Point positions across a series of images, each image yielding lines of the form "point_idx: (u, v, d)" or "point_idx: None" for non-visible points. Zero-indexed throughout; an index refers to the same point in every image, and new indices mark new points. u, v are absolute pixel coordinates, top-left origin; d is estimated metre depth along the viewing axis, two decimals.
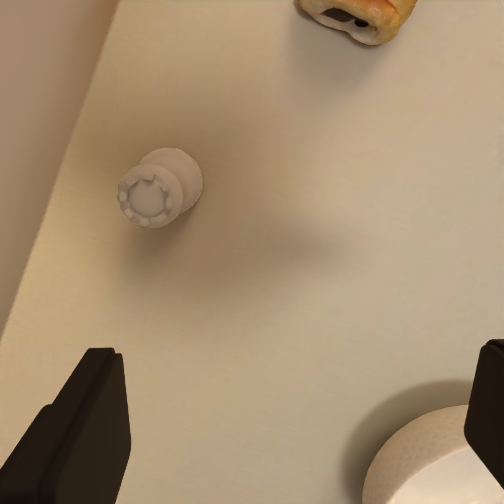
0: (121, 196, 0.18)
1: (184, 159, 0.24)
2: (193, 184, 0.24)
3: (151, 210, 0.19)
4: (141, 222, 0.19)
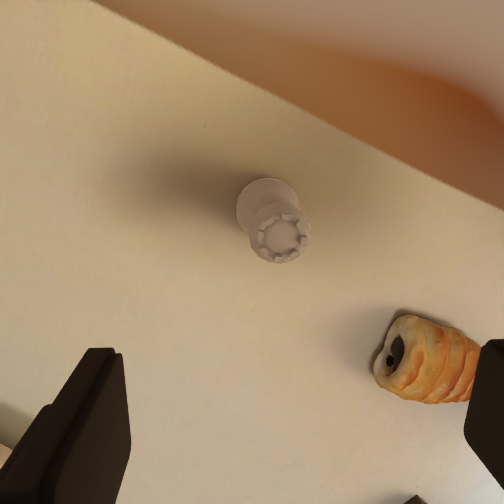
0: (286, 215, 0.19)
1: None
2: None
3: (270, 240, 0.19)
4: (260, 233, 0.19)
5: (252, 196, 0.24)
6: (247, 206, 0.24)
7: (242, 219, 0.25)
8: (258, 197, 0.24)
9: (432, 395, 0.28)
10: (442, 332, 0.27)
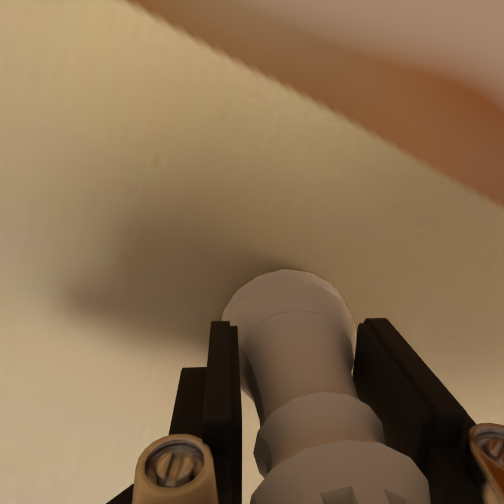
0: None
1: None
2: None
3: None
4: None
5: (256, 323, 0.11)
6: (244, 347, 0.11)
7: None
8: (269, 333, 0.10)
9: None
10: None
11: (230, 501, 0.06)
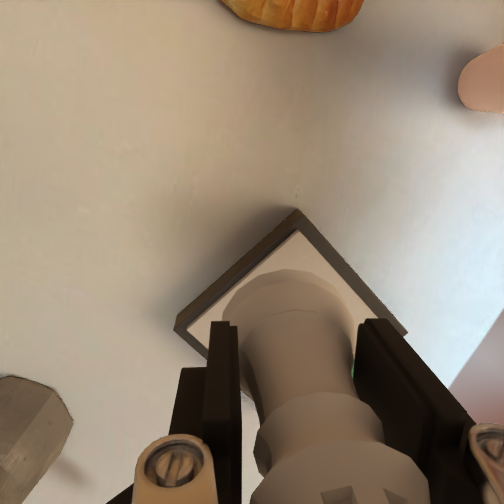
0: None
1: None
2: None
3: None
4: None
5: (255, 323, 0.11)
6: (244, 347, 0.11)
7: None
8: (269, 333, 0.10)
9: None
10: None
11: (230, 501, 0.06)
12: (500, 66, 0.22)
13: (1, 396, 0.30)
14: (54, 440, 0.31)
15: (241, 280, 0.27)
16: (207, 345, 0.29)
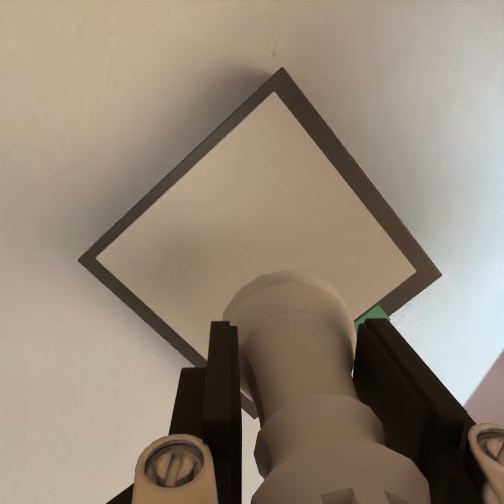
0: None
1: None
2: None
3: None
4: None
5: (256, 324, 0.11)
6: (244, 348, 0.11)
7: None
8: (269, 334, 0.10)
9: None
10: None
11: (230, 501, 0.06)
12: None
13: None
14: None
15: (182, 176, 0.17)
16: (130, 285, 0.18)
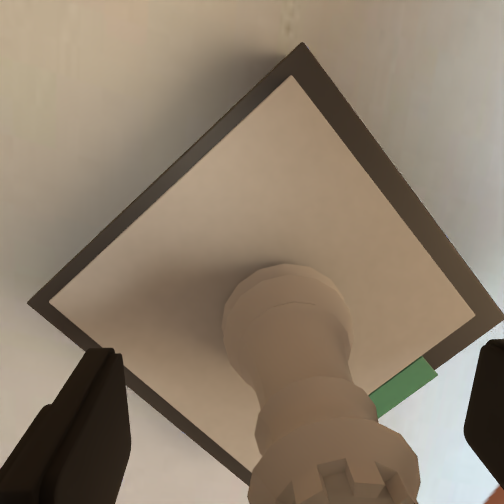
0: (367, 486, 0.06)
1: None
2: None
3: None
4: None
5: (256, 315, 0.11)
6: (245, 337, 0.11)
7: (234, 356, 0.12)
8: (269, 323, 0.11)
9: None
10: None
11: None
12: None
13: None
14: None
15: (164, 192, 0.12)
16: (96, 336, 0.14)
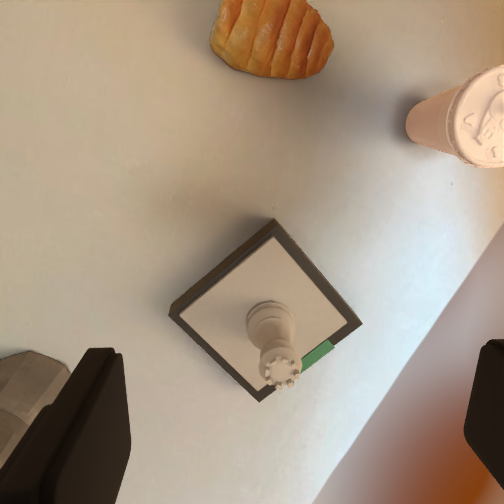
0: (285, 360, 0.27)
1: None
2: None
3: (273, 373, 0.28)
4: (267, 371, 0.27)
5: (259, 321, 0.32)
6: (255, 329, 0.32)
7: (251, 336, 0.33)
8: (264, 324, 0.32)
9: (258, 43, 0.28)
10: None
11: None
12: (429, 115, 0.28)
13: (21, 366, 0.35)
14: None
15: (226, 275, 0.33)
16: (196, 328, 0.35)
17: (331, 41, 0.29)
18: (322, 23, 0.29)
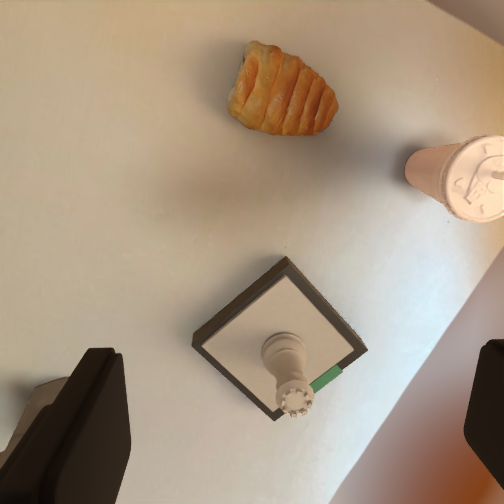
0: (299, 392, 0.30)
1: None
2: None
3: (289, 403, 0.31)
4: (283, 401, 0.31)
5: (274, 352, 0.36)
6: (271, 359, 0.36)
7: (267, 365, 0.37)
8: (279, 355, 0.35)
9: (271, 110, 0.31)
10: (277, 47, 0.31)
11: None
12: (425, 170, 0.32)
13: None
14: None
15: (243, 310, 0.37)
16: (216, 357, 0.38)
17: (336, 103, 0.33)
18: (327, 89, 0.32)
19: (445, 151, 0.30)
